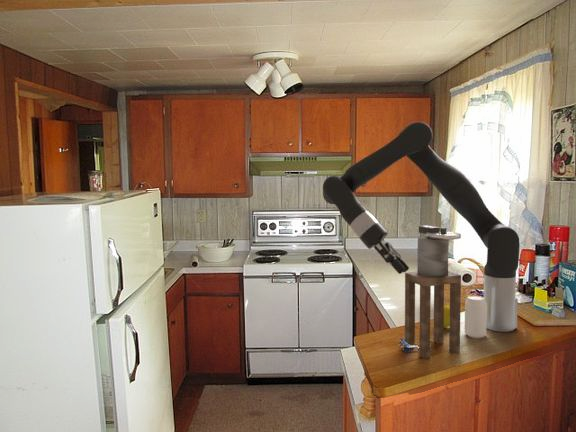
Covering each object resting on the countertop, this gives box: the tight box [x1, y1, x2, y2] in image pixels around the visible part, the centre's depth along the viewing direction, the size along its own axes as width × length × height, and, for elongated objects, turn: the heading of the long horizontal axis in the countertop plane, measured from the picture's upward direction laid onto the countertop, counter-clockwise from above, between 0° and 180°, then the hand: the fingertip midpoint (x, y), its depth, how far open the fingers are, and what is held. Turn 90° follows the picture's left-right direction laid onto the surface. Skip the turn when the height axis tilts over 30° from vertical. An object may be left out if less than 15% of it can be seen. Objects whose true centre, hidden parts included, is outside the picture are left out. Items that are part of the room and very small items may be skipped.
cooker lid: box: [418, 224, 462, 241], centre depth 129 cm, size 9×14×3 cm, turn 20°
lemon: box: [444, 303, 450, 329], centre depth 146 cm, size 6×6×8 cm
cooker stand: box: [404, 236, 462, 359], centre depth 128 cm, size 12×9×32 cm
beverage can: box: [464, 295, 488, 339], centre depth 138 cm, size 6×6×12 cm
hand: (404, 271), depth 132 cm, fingers open, 8 cm apart
